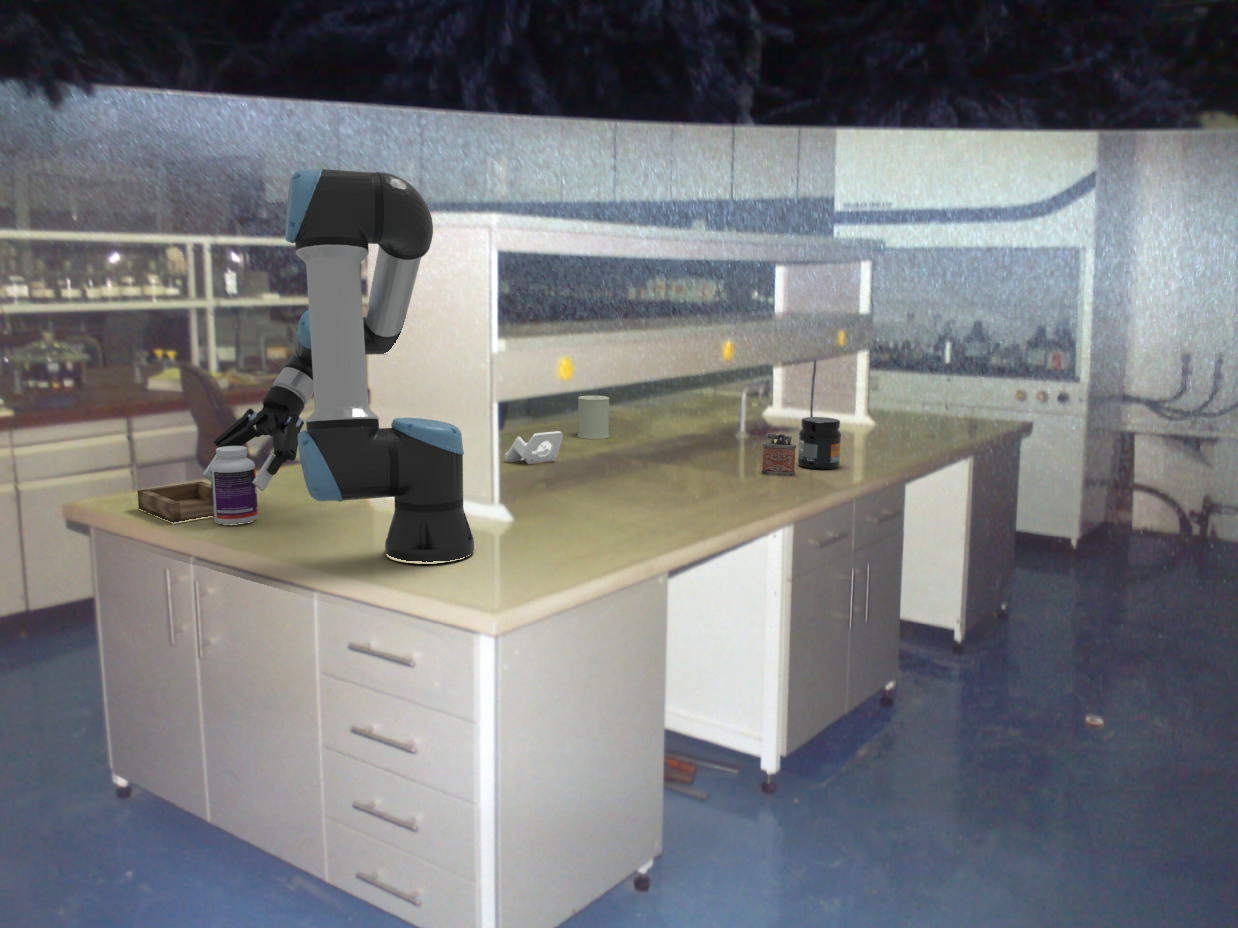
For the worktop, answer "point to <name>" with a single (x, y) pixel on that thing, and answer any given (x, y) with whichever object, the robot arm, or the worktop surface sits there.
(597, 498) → the worktop surface
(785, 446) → the lighter
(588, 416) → the can
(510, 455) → the mounting bracket
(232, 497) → the pill bottle
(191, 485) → the slot tray
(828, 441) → the supplement container
